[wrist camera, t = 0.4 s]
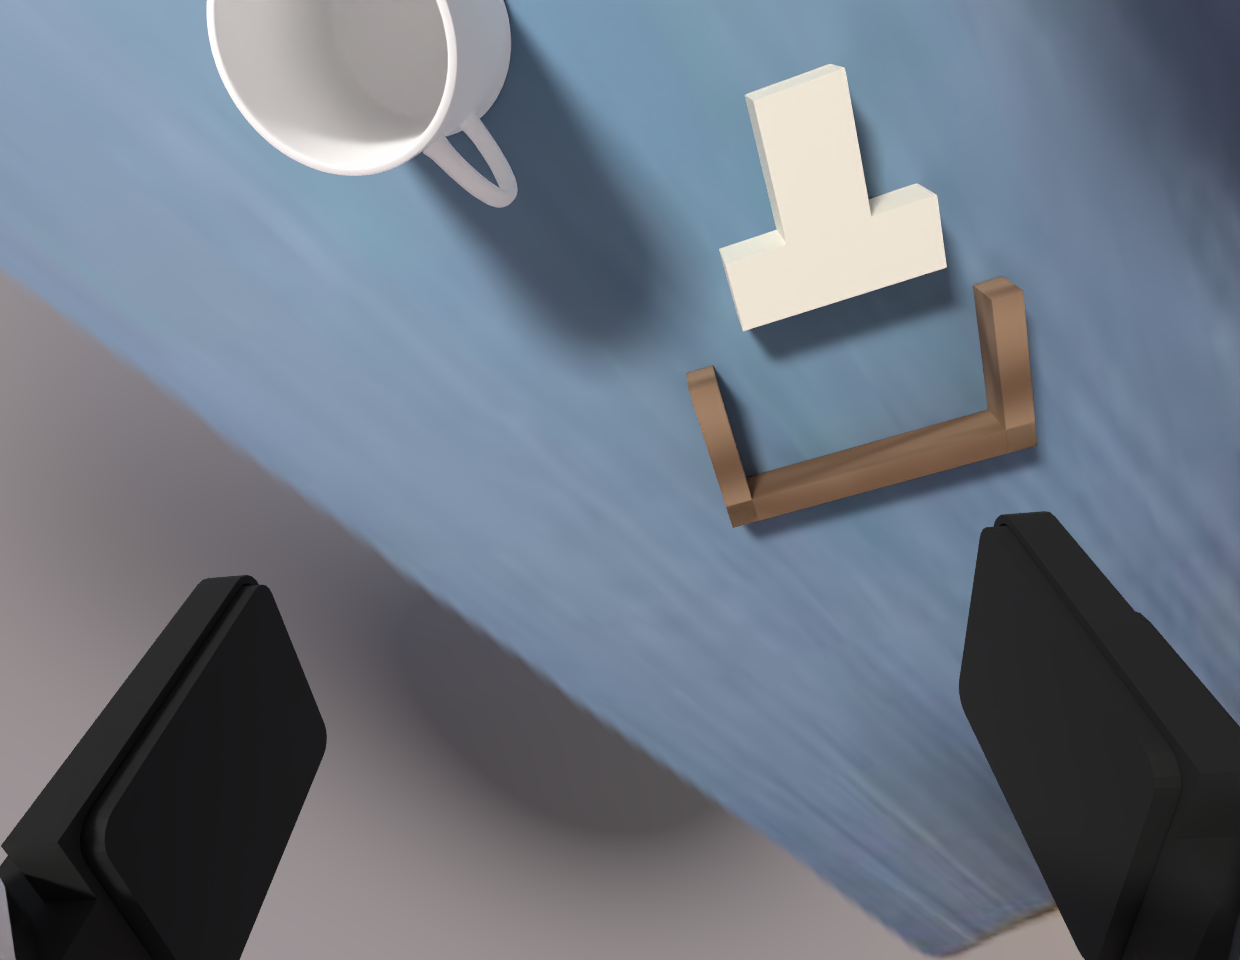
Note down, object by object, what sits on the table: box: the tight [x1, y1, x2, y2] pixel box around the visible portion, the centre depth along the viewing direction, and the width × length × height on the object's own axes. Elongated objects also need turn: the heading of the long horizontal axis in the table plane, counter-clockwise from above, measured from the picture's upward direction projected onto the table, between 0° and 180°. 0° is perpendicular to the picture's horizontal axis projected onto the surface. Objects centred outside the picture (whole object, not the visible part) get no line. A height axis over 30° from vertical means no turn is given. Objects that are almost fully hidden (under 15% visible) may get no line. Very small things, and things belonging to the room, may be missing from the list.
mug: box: [207, 0, 518, 208], centre depth 32 cm, size 12×8×12 cm
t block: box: [719, 64, 947, 331], centre depth 38 cm, size 10×10×3 cm
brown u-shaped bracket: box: [686, 276, 1037, 528], centre depth 44 cm, size 9×17×2 cm, turn 109°
